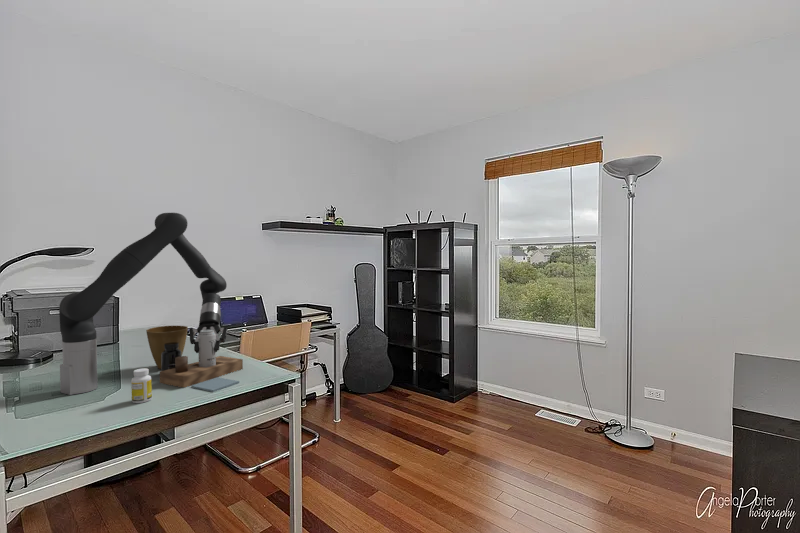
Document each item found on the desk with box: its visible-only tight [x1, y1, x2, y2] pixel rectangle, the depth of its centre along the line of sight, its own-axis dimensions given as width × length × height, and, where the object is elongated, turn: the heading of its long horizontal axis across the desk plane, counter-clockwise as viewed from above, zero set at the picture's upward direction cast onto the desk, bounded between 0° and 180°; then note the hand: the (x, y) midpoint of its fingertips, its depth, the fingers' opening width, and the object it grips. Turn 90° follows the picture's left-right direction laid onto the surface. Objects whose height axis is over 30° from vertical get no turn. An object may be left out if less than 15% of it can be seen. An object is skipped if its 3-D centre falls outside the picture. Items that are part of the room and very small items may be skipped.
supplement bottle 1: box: [130, 367, 153, 404], centre depth 129 cm, size 5×5×10 cm
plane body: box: [159, 355, 244, 389], centre depth 156 cm, size 26×13×9 cm, turn 154°
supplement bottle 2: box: [160, 342, 181, 372], centre depth 158 cm, size 7×7×12 cm
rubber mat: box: [191, 377, 240, 393], centre depth 144 cm, size 11×11×1 cm
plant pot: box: [146, 325, 188, 370], centre depth 168 cm, size 15×15×16 cm
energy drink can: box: [197, 330, 217, 368], centre depth 158 cm, size 6×6×15 cm
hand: (206, 351), depth 156 cm, fingers closed on energy drink can, 6 cm apart
